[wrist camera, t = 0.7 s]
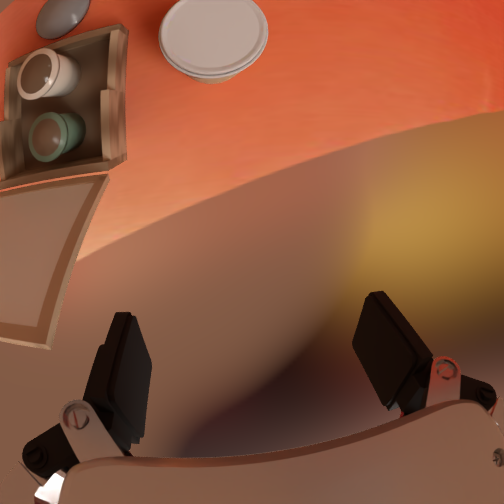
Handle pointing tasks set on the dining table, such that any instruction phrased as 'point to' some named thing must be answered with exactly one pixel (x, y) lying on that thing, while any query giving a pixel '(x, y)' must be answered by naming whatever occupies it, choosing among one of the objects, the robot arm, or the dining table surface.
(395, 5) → the dining table surface
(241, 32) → the coffee cup
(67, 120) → the green pot
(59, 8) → the slate saucer
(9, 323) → the frame lid
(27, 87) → the cream pot
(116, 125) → the box
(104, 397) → the robot arm
